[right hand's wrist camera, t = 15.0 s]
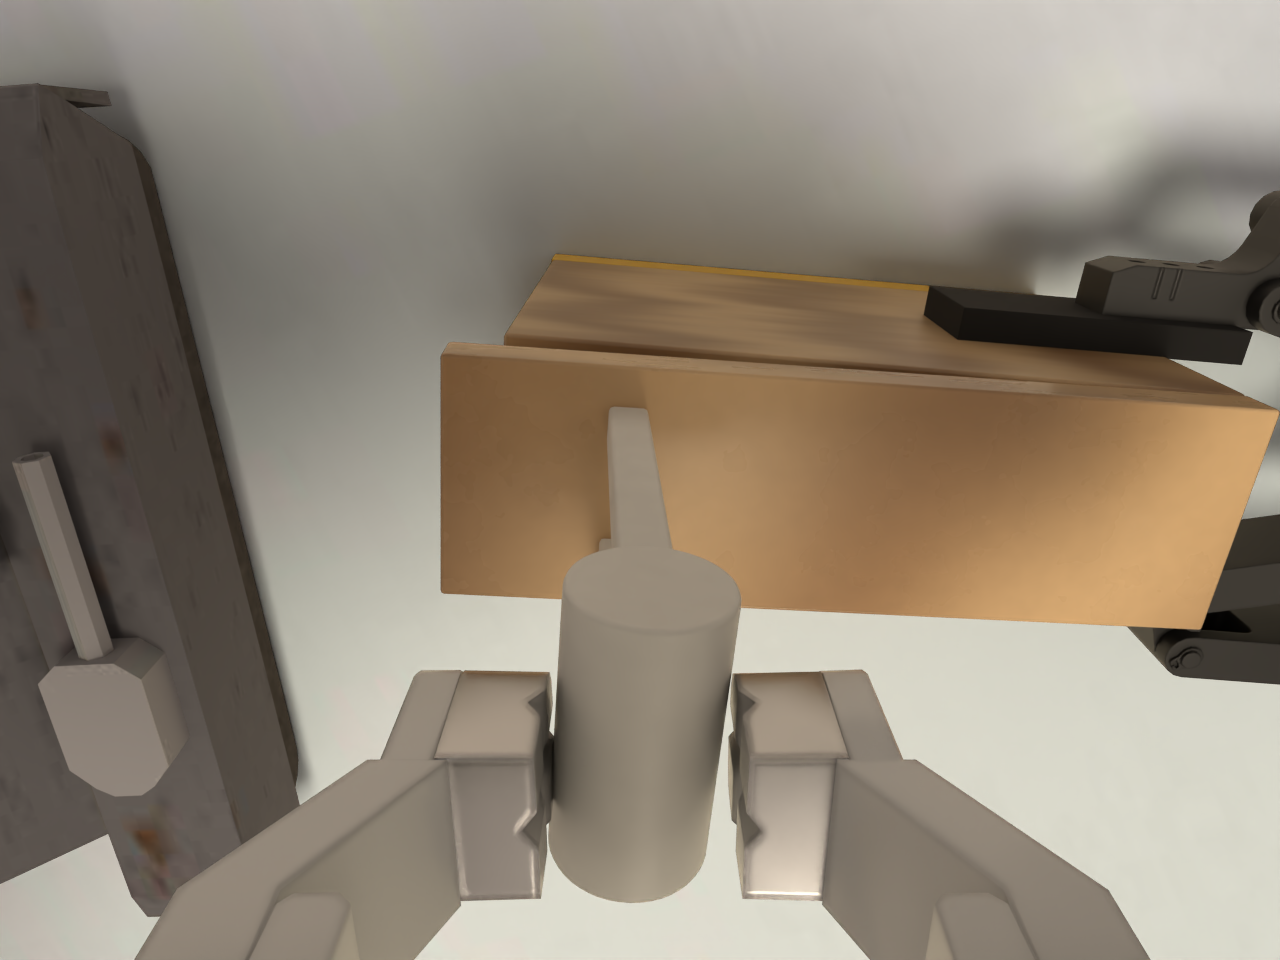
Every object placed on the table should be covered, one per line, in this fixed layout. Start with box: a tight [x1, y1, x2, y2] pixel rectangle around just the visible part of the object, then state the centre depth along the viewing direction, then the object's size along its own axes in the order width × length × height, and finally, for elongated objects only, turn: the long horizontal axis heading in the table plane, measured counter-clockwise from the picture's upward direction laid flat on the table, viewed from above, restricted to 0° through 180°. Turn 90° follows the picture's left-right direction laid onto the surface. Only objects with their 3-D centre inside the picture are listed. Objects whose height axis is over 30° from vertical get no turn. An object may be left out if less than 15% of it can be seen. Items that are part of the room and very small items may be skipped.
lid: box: [441, 342, 1280, 903], centre depth 14 cm, size 15×5×9 cm, turn 85°
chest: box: [504, 254, 1244, 396], centre depth 23 cm, size 15×5×10 cm, turn 85°
